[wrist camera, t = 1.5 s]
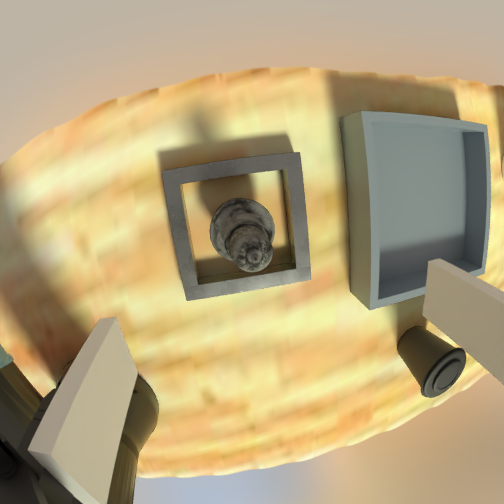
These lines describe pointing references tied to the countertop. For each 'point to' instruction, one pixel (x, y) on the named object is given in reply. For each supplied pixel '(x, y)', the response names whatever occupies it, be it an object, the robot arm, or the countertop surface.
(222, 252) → the dark grey tall piece
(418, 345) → the coffee cup
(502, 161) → the white plastic bottle
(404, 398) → the countertop surface
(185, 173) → the collar
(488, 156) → the bin
